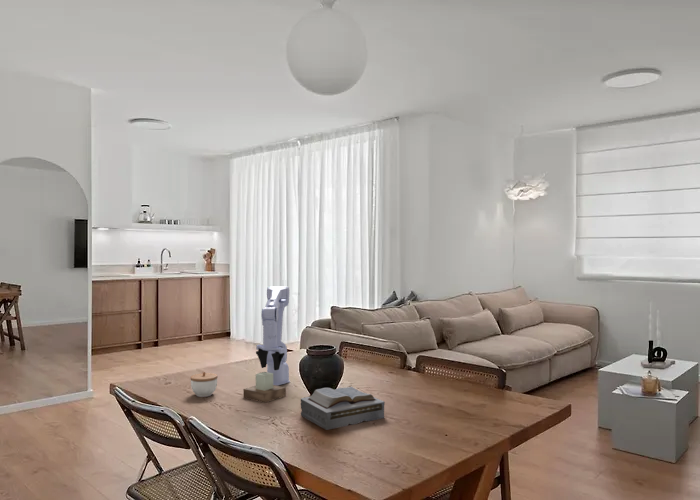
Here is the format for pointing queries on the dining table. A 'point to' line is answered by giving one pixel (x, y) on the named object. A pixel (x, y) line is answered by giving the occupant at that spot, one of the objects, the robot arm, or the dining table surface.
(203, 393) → the lidded jar
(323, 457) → the dining table surface
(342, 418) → the bible
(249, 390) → the walnut box
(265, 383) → the sage block
